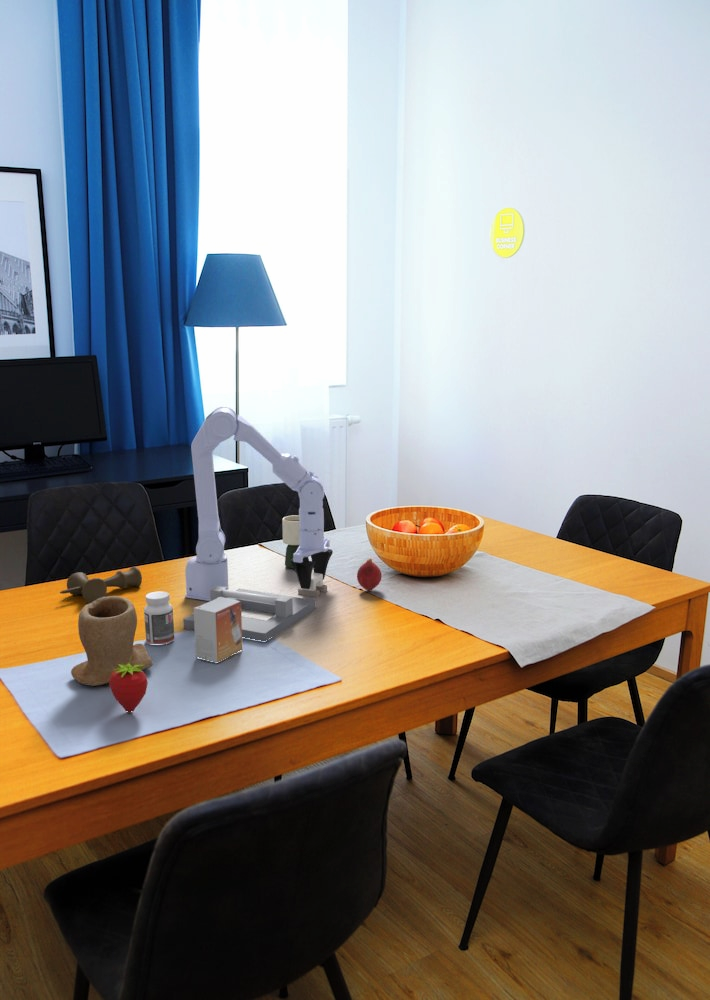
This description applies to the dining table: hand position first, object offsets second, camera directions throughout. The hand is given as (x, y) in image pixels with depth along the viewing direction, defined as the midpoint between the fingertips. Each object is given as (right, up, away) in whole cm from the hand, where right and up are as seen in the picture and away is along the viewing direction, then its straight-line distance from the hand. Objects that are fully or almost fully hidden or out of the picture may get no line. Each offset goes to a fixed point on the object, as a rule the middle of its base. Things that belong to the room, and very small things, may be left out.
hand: (312, 583), depth 211 cm
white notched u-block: (0, -2, 0) cm, 2 cm away
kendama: (-50, -3, 0) cm, 50 cm away
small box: (-17, -11, -36) cm, 41 cm away
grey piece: (-13, -6, -16) cm, 21 cm away
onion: (+13, -2, +1) cm, 14 cm away
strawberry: (-28, -16, -60) cm, 68 cm away
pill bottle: (-30, -9, -29) cm, 42 cm away
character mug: (-5, +2, +20) cm, 21 cm away
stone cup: (-34, -13, -45) cm, 58 cm away
